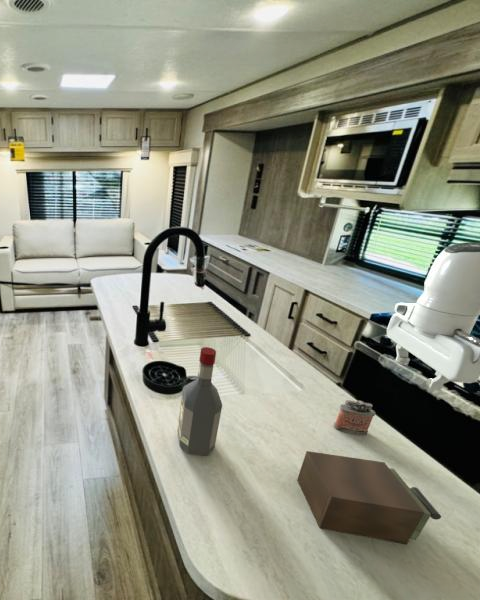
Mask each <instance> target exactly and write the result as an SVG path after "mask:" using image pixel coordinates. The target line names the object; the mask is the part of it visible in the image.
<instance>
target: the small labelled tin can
mask: <svg viewBox="0 0 480 600" xmlns="http://www.w3.org/2000/svg"><path fill="white" fill-rule="evenodd" d="M375 416H376V411H375V410H373V404H372V403H371V402H370V403H369V402H364V401H363V400H357V401H356V400H349V399H345V402H344V404H343V403H342V404H340V405H339V411H338V414H337V416H336V420H335V422H334V423H333V428H334V429H335V430H337V431H340V432H342V433H346V434H347V433H348V434H352V435H358V436H359V435H361V436H366V435H368V433H369V429H370V426H371V423H372V422H373V421H372V420H373V418H374V417H375Z"/></svg>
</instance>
